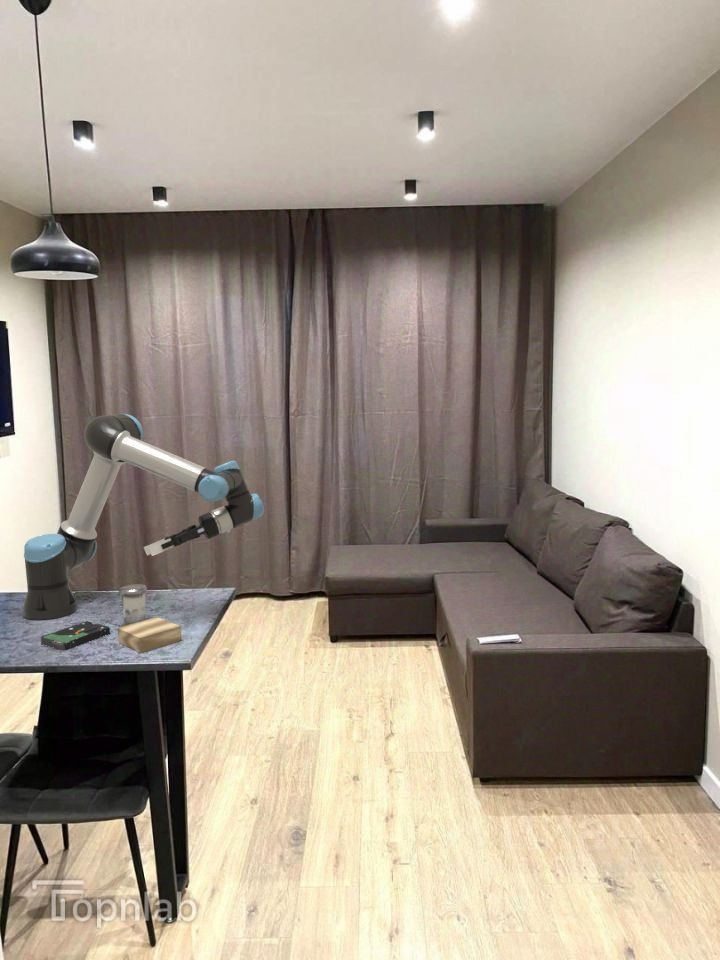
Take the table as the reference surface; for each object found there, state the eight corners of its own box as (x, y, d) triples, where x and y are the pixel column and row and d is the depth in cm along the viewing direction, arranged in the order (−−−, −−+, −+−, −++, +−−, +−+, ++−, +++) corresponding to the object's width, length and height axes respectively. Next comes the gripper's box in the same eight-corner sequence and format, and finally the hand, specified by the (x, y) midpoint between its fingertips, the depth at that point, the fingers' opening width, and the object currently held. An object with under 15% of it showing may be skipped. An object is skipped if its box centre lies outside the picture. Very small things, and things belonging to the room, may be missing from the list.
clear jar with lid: (116, 623, 209) (114, 588, 207) (140, 617, 214) (138, 582, 213) (129, 629, 204) (127, 593, 202) (153, 622, 209) (151, 587, 208)
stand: (118, 642, 194) (117, 627, 193) (158, 630, 202) (157, 616, 202) (141, 653, 185) (140, 638, 185) (181, 640, 194) (180, 626, 193)
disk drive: (86, 630, 206) (40, 646, 193) (86, 620, 206) (39, 636, 193) (111, 636, 201) (64, 652, 188) (110, 626, 200) (64, 642, 188)
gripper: (228, 533, 206) (157, 564, 198) (212, 534, 229) (148, 562, 221) (218, 509, 205) (147, 539, 197) (202, 513, 228) (138, 540, 220)
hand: (147, 551), depth 209 cm, fingers open, 13 cm apart
